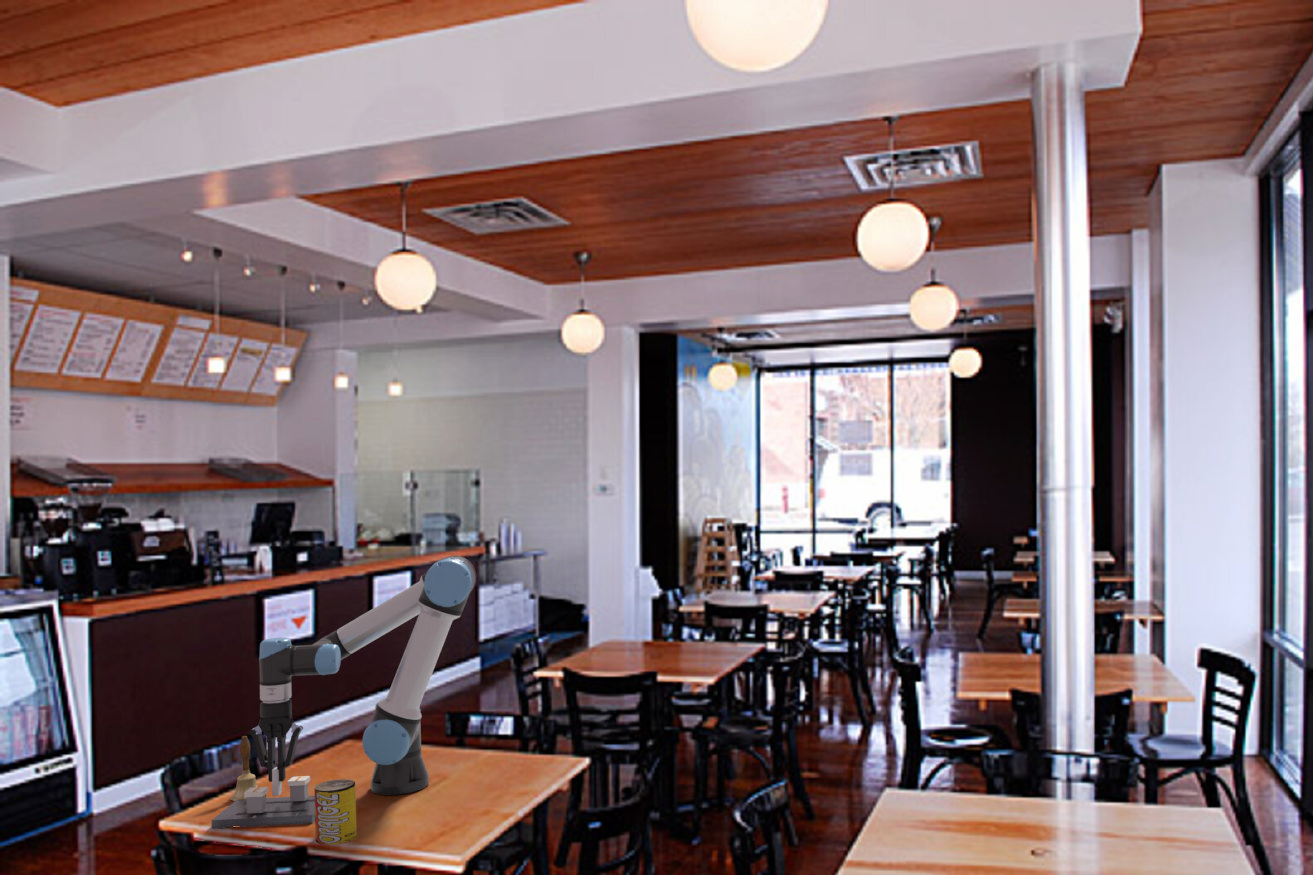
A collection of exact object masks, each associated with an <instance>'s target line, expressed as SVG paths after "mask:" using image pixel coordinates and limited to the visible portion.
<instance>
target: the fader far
mask: <svg viewBox="0 0 1313 875" xmlns="http://www.w3.org/2000/svg"><path fill="white" fill-rule="evenodd" d="M310 781H311V775H304V776H303V775H299V776H292V777H291V778H289V779H288V780H287V787H289V794H290V795H289V797H290V802H293V801H305V800H306V799H307V798H308V796H309V783H310Z"/></svg>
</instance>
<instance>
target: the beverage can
mask: <svg viewBox="0 0 1313 875" xmlns="http://www.w3.org/2000/svg"><path fill="white" fill-rule="evenodd" d="M313 794H314V796H315V821H314V822H315V824H314V825H315V828H314V829H315V842H316V843H318V844H319V845H324V846H325V845H328V846H329V845H338V844H344V843H347V842H349V840H350V841H353V840H354V839H355V838H356V837H357V836H358V834H357V833H358V832H357V829H358V828H357V803H356V802H357V801H356V797H357V796H356V781H355V780H353V779H349V778H348V779H347V778H343V779H340V778H339V779H332V780H327V781H323V782H319V783H318V784H316V785H314V793H313ZM356 835H357V836H356Z"/></svg>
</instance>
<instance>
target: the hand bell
mask: <svg viewBox="0 0 1313 875" xmlns="http://www.w3.org/2000/svg"><path fill="white" fill-rule="evenodd" d="M239 753H240V757H241V761H242V774H241V775H239V776H238V777H237V782H236V787H235V789H234V792H233V794H232V795H231V796H230V797H229V800H230V801H231V800H233V801H232V802H234V801H236V800H238V799H247V798H244V792H246V791H247V790H248V789H249V788H254V787H258V786H259V785H258V783H257V779H256V778H257V777H256V775H255V774H253V773H251V770H250V760H249V759H250V755H251V744H250V741H249V739H248V736H247V735H242V736H241V740H240V743H239Z"/></svg>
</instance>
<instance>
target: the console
mask: <svg viewBox="0 0 1313 875" xmlns="http://www.w3.org/2000/svg"><path fill="white" fill-rule="evenodd" d="M314 822H315V795H308V798H307V799H306V800H305V801H293V802H290V796H281V797H280V796H276V797H266V810H265V811H263V812H262V813H248V814H247V799H238V800H236V801H235V802H234V801H233V802H232V803H231V804H230V805H228V806H227V807H226V808H225V809H223V811H221V812H220V813H219V814H217V815H216V816H215V817H214V818H212V819H211V830H212V829H214V830H215V829H227V828H226V827H233V826H240V827H239V828H250V827H251V828H254V827H268V826H269V827H270V826H271V827H272V826H273V827H274V826H288V825H289V826H291V825H290V824H293V825H309V824H311V825H312V824H313V823H314ZM223 827H225V828H223Z"/></svg>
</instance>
